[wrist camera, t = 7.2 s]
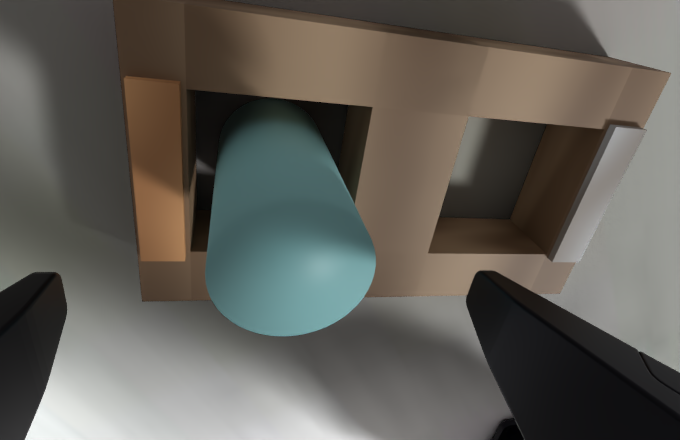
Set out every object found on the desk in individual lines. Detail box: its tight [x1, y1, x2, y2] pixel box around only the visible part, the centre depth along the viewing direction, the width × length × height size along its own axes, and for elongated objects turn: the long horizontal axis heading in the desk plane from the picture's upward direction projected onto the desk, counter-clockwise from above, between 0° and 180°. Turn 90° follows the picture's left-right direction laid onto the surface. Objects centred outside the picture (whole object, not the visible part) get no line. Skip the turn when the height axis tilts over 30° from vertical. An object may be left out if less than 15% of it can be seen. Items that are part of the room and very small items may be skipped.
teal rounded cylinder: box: [205, 98, 376, 336], centre depth 14 cm, size 4×4×8 cm
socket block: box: [113, 0, 671, 301], centre depth 17 cm, size 18×10×3 cm, turn 81°
